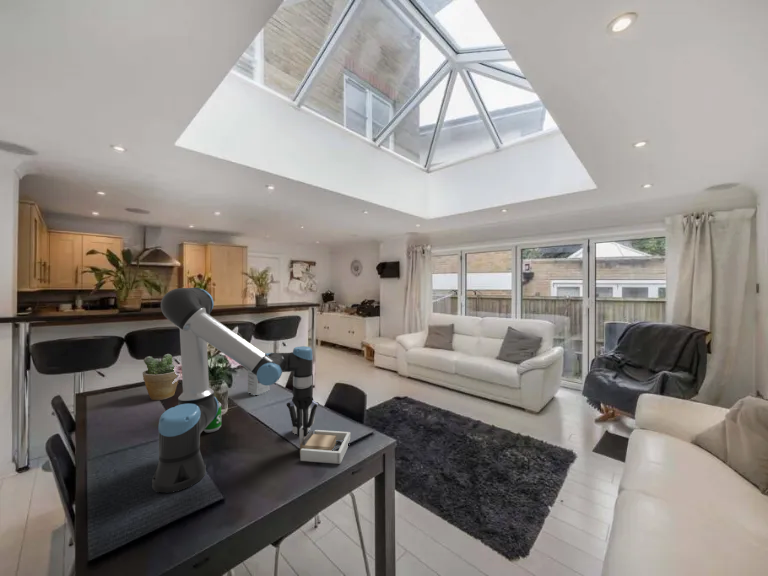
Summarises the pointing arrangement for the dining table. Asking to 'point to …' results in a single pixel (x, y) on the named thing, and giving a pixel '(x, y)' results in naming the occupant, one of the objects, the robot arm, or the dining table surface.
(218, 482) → the dining table surface
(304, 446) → the trolley
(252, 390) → the supplement box
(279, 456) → the dining table surface
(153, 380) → the potted plant
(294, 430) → the mug
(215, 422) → the soda can
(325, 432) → the bay
